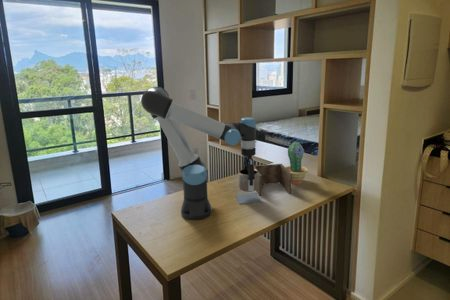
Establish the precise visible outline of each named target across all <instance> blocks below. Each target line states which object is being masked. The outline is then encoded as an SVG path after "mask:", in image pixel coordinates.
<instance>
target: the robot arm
mask: <svg viewBox="0 0 450 300" xmlns="http://www.w3.org/2000/svg"><path fill="white" fill-rule="evenodd" d="M140 101H141V106H142V108H143V110H145V111H146V112H147V113H149V114H150V115H151V117H152V119H153V120H156V121H157V122H158V124H159V126H160V127H161V129H162V131H163V133H164V135H165V137H166V138H167V140H168V142H169V144H170V146H171V148H172V150H173V151H174V153H175V156H176V157H177V159H178V161H179V162H178V167H179V170H180V171H181V174H182V175H181V177H182V187H183V201H182V206H181V208H180V215H181V217H182V218H183V219H186V220H191V221H192V220H193V221H195V220H196V221H197V220H199V221H200V220H204V219H206V218H208V217H210V216H211V214H212V210H213V209H212V205H211V203H210V201H209V198H208V172H207V168H206V165H205V163H204V162H203V161H202V160H201V157H200V155H199V154H196V153H195V152H194V150H193V148H192V146H191V145H190V142H189V140H188V139H187V137H186V135H185V133H184V131H183V129H182V127H181V125H180V124H183V125H185V126H187V127H189V128H192V129H194V130H197V131H199V132H202V133H204V134H207V135H209V136H212V137H213V138H216V139H219V140H220V141H223V142H225V143H226V144H227V145H229V146H236V145H238V144H240V147H241V148H240V153H241V156H242V157H243V158H242V159H243V162H242V169H248V176H249V178H248V191H252V192H255V191H254V179H255V176H254V163H255V161H254V160H253V157H254V156H255V155H256V149H257V148H256V143H257V140H256V134H257V131H256V128H257V127H256V118H253V117H247V116H246V117H242V118H241V119H240V122H221V121H218V120H216V119H214V118H211V117H209V116H207V115H205V114H203V113H200V112H198V111H195V110H192V109H190V108H188V107H186V106H184V105H182V104H179V103H177V102H175V100H174V99H173V98H170V95H169V93H168V91H167V90H166V89H165V88H163V87H160V86H153V87H150V88H148V89H147V90H146V91H144V93H142V95H141V100H140Z"/></svg>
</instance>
